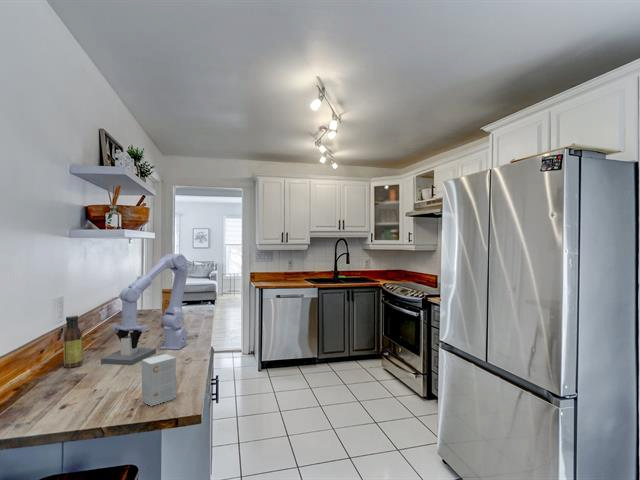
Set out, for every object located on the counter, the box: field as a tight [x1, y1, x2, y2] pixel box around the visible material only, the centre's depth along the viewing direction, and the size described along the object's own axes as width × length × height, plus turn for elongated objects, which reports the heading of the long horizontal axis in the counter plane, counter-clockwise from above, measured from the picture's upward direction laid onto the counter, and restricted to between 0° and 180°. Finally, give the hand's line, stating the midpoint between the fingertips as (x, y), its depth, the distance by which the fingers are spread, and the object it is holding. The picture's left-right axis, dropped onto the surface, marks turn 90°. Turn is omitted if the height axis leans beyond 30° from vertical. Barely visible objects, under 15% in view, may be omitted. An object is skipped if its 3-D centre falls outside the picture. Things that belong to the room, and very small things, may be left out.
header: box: [100, 347, 157, 366], centre depth 152 cm, size 14×16×2 cm
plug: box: [120, 334, 139, 356], centre depth 152 cm, size 4×6×8 cm
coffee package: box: [160, 288, 183, 327], centre depth 215 cm, size 10×12×22 cm
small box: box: [141, 353, 177, 407], centre depth 111 cm, size 8×6×13 cm
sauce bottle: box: [62, 314, 84, 369], centre depth 143 cm, size 6×6×20 cm
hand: (129, 347), depth 152 cm, fingers closed on plug, 4 cm apart
